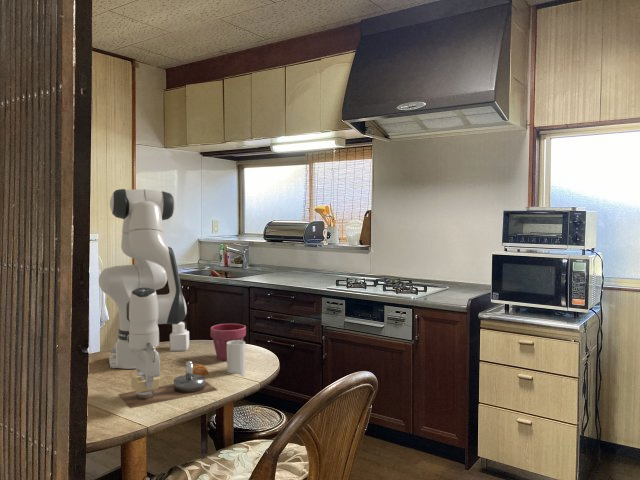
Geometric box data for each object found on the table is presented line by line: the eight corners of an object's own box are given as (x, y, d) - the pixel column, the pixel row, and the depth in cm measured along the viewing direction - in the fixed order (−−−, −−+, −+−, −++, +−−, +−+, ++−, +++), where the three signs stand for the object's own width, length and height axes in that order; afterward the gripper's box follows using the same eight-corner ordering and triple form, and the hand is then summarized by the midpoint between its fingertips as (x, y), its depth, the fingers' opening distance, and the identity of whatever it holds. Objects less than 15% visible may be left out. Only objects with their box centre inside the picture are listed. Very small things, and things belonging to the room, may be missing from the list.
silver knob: (134, 396, 164) (134, 374, 164) (150, 392, 167) (150, 371, 167) (139, 401, 160) (138, 378, 159) (155, 397, 163) (155, 375, 162)
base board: (118, 398, 165) (118, 394, 165) (201, 382, 181) (201, 378, 181) (129, 413, 154) (129, 408, 154) (217, 394, 170) (217, 389, 170)
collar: (131, 386, 164) (131, 377, 164) (152, 382, 168) (152, 373, 168) (137, 392, 159) (137, 382, 158) (158, 388, 162) (158, 379, 162)
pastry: (213, 378, 186) (212, 368, 186) (195, 382, 183) (194, 371, 182) (203, 372, 194) (202, 362, 194) (185, 375, 190) (185, 365, 190)
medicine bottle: (172, 346, 229) (172, 319, 228) (189, 346, 229) (189, 319, 229) (169, 351, 222) (169, 323, 221) (186, 350, 222) (186, 323, 222)
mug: (242, 378, 186) (241, 345, 186) (224, 377, 188) (223, 344, 187) (250, 369, 196) (250, 338, 196) (233, 368, 198) (233, 337, 197)
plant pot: (232, 350, 223) (232, 321, 222) (253, 357, 213) (252, 326, 212) (203, 357, 212) (203, 326, 212) (224, 364, 203) (223, 332, 202)
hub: (169, 386, 173) (169, 359, 172) (198, 381, 179) (198, 355, 178) (180, 395, 165) (179, 367, 164) (209, 389, 170) (209, 362, 170)
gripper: (165, 346, 156) (165, 391, 156) (145, 332, 172) (145, 373, 173) (143, 349, 152) (144, 395, 153) (125, 335, 169) (126, 377, 170)
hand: (145, 383), depth 163 cm, fingers closed on collar, 7 cm apart
